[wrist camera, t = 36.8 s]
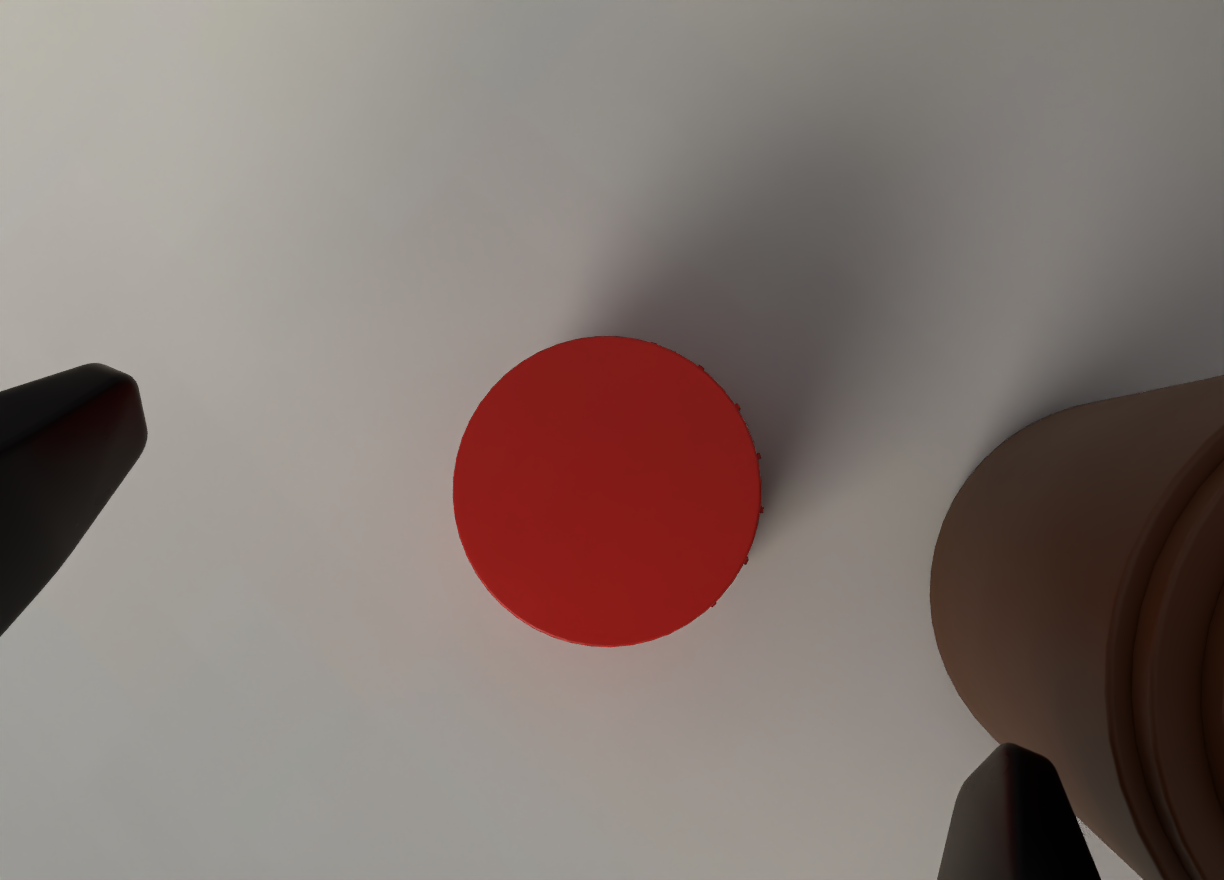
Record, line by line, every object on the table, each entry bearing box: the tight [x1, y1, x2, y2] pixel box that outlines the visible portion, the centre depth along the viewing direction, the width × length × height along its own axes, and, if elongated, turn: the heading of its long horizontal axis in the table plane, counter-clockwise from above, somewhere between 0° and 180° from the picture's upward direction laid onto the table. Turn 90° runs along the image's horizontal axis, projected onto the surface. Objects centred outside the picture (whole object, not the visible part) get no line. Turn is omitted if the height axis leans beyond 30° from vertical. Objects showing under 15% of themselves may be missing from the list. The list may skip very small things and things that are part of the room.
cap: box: [453, 336, 764, 647], centre depth 14 cm, size 4×4×3 cm
